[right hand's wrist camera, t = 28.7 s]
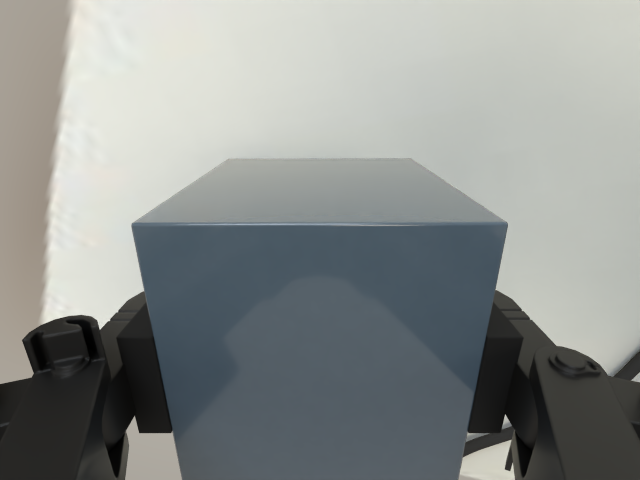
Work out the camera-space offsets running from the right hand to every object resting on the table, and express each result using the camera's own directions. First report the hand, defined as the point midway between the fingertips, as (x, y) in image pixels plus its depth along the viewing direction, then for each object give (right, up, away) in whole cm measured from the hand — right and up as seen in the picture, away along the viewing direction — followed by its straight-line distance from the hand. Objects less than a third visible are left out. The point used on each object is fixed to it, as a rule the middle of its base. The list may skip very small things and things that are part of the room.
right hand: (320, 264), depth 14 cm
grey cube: (0, +1, +1) cm, 1 cm away
